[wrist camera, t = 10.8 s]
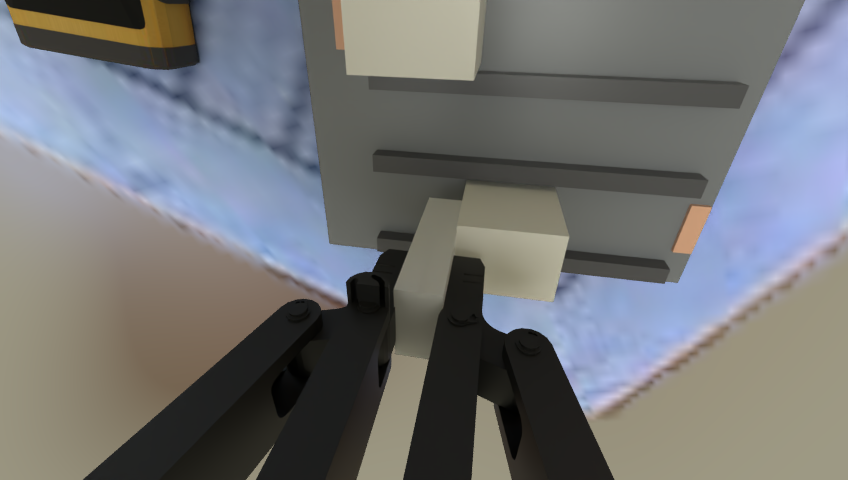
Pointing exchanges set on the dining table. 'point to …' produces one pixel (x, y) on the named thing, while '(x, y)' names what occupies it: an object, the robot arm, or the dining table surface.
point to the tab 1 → (413, 38)
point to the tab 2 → (514, 237)
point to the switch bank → (554, 122)
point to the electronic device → (110, 30)
